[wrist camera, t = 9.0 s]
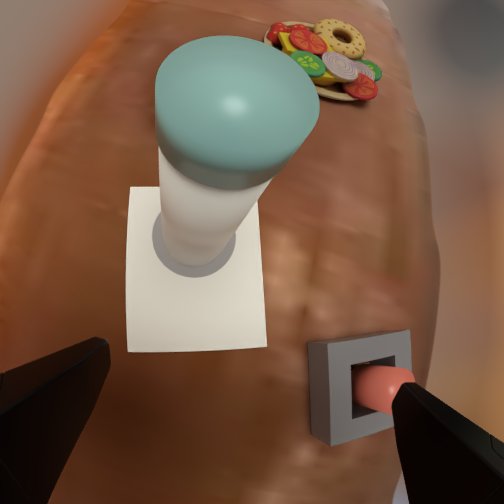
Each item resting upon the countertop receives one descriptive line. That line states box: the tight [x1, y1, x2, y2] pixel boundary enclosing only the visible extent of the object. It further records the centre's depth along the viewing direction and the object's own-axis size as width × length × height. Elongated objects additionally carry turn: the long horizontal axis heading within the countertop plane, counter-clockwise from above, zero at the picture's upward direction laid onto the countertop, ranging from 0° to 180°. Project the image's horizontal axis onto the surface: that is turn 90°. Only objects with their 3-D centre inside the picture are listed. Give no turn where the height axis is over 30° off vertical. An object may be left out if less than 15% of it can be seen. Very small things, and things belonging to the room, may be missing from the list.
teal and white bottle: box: [155, 36, 319, 267], centre depth 14 cm, size 4×4×14 cm
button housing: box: [307, 329, 412, 447], centre depth 20 cm, size 7×7×3 cm
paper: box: [126, 187, 267, 352], centre depth 20 cm, size 11×9×1 cm
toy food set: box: [264, 19, 382, 101], centre depth 27 cm, size 13×13×3 cm
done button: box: [351, 364, 415, 415], centre depth 18 cm, size 3×3×4 cm
